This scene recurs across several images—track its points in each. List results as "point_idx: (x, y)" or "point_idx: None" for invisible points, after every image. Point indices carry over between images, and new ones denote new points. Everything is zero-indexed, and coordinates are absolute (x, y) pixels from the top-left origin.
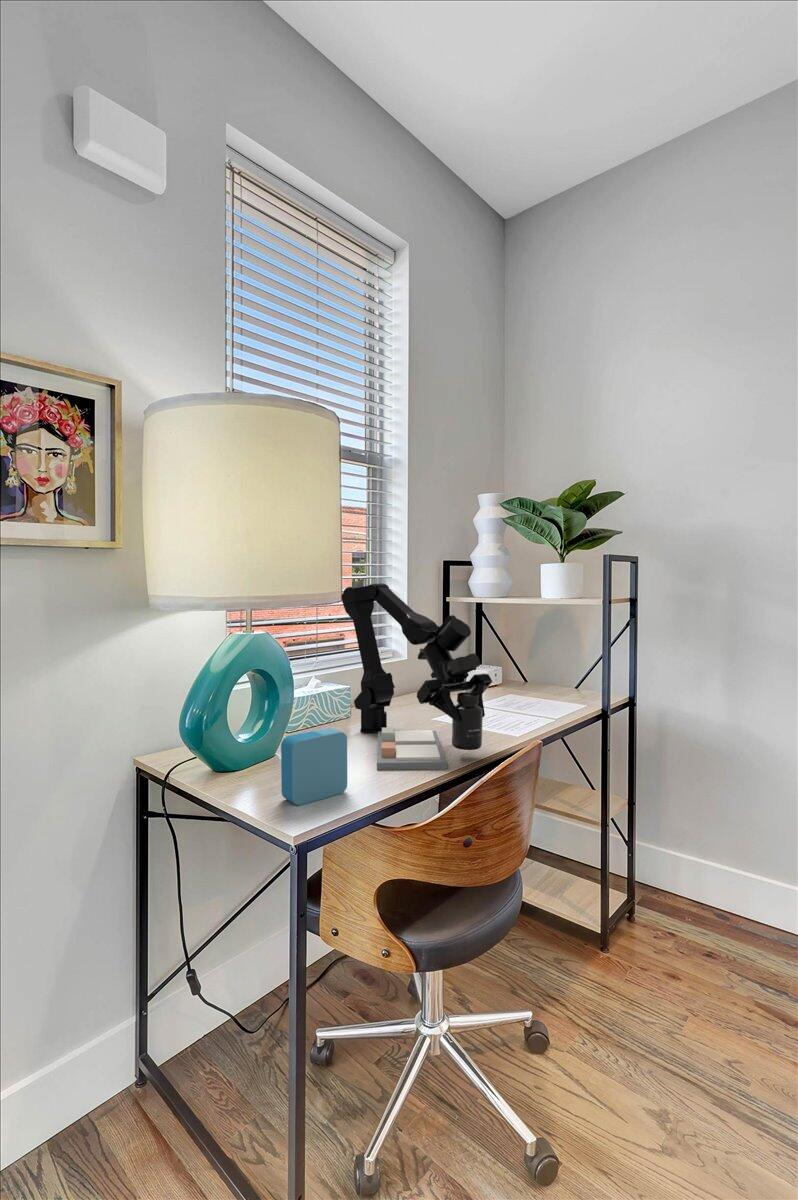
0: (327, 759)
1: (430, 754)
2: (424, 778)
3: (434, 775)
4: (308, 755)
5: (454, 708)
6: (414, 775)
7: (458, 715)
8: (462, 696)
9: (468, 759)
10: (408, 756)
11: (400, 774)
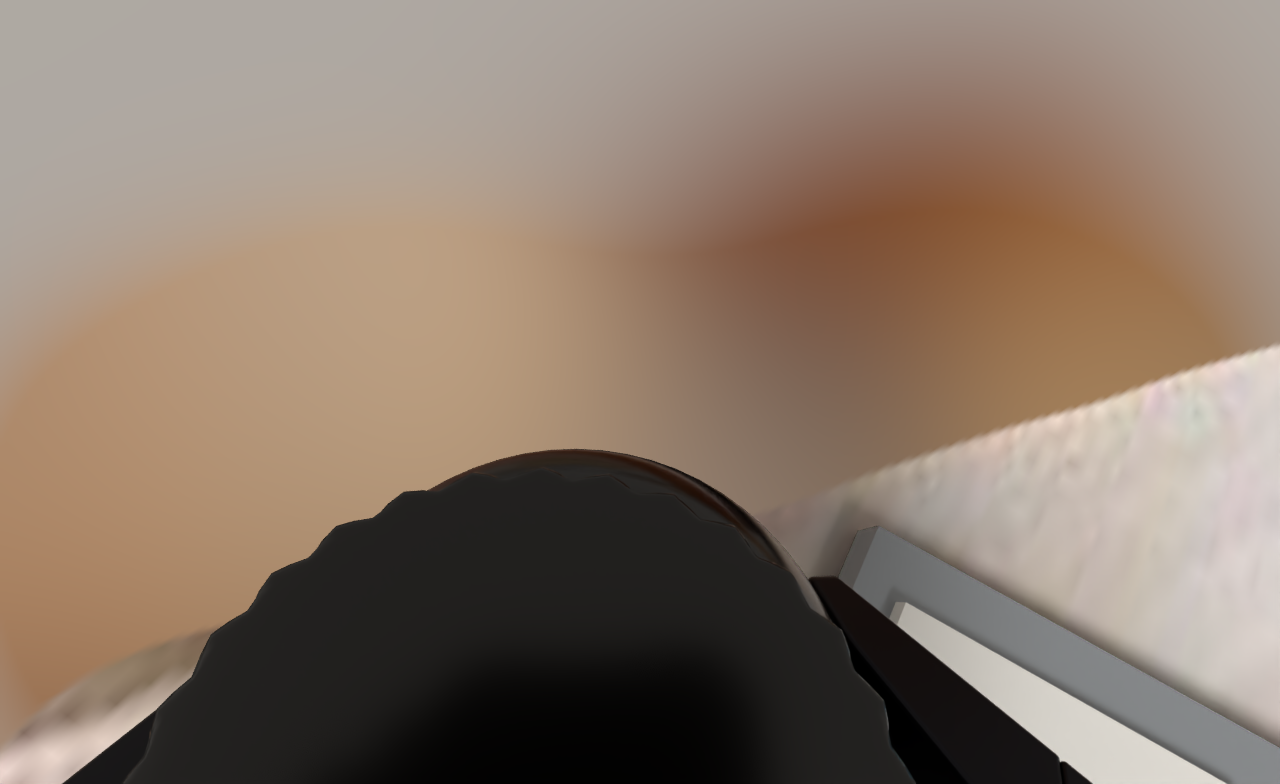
0: None
1: None
2: (1064, 456)
3: (984, 469)
4: None
5: (952, 712)
6: (1105, 538)
7: (847, 614)
8: (881, 703)
9: None
10: (1147, 769)
11: (1189, 607)
